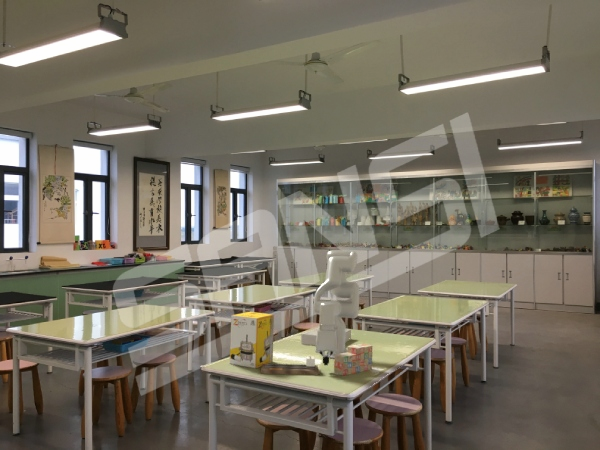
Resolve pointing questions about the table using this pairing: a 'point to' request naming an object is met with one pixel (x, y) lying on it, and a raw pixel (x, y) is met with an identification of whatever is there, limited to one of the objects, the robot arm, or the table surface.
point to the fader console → (289, 369)
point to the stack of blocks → (354, 360)
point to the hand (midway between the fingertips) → (325, 364)
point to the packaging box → (251, 339)
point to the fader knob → (310, 361)
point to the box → (311, 335)
